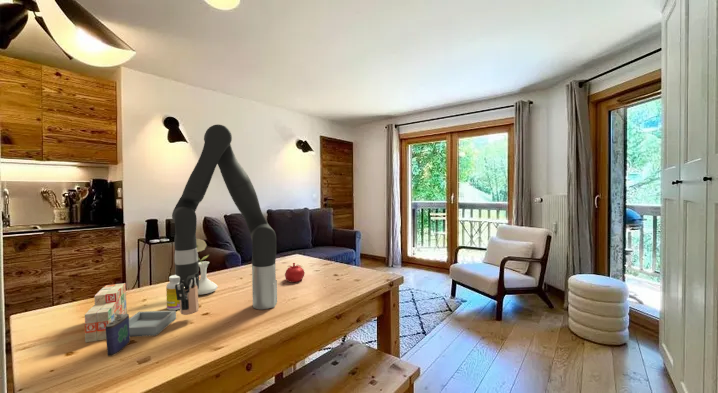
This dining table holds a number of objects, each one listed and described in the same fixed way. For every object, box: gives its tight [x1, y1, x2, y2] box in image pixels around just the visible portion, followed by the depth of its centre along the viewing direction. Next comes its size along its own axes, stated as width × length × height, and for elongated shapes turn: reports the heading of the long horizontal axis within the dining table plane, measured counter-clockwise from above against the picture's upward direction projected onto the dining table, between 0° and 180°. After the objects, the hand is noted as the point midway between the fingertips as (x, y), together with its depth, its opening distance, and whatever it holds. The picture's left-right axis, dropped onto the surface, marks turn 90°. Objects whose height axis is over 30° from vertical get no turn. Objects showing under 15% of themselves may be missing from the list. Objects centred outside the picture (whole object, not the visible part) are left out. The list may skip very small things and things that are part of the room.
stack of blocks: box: [84, 282, 128, 343], centre depth 110 cm, size 21×6×12 cm, turn 24°
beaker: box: [179, 285, 200, 316], centre depth 115 cm, size 6×6×9 cm
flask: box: [105, 313, 131, 357], centre depth 96 cm, size 9×3×11 cm, turn 8°
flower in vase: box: [196, 238, 218, 296], centre depth 144 cm, size 13×11×25 cm
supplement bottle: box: [166, 274, 180, 311], centre depth 127 cm, size 7×7×13 cm
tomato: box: [284, 262, 306, 283], centre depth 162 cm, size 10×10×9 cm
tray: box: [129, 310, 177, 338], centre depth 110 cm, size 13×13×3 cm
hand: (189, 305), depth 116 cm, fingers closed on beaker, 5 cm apart
